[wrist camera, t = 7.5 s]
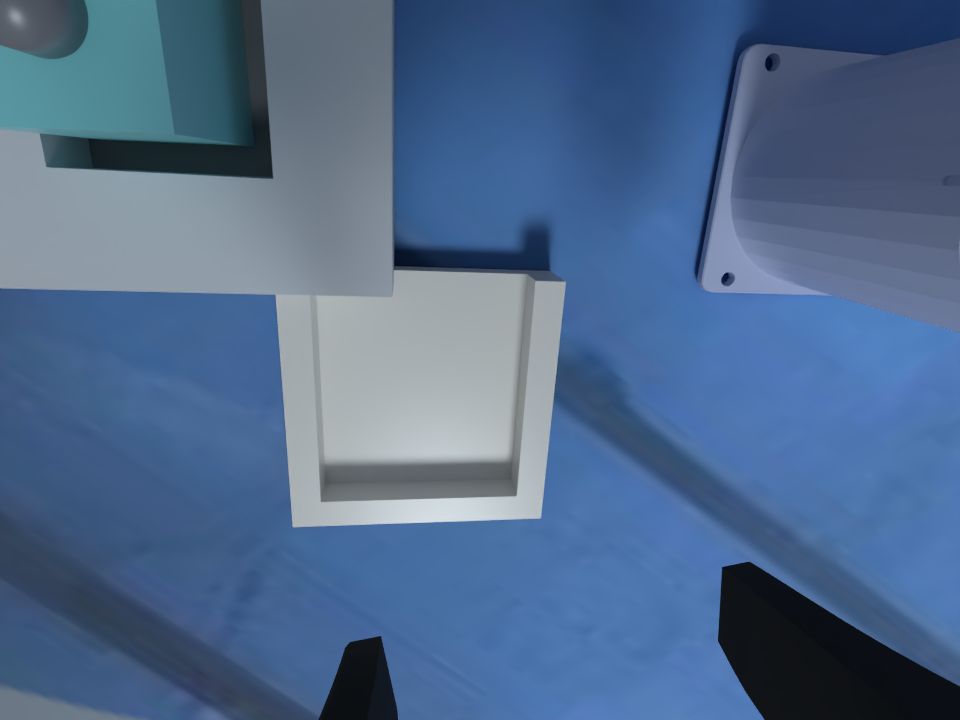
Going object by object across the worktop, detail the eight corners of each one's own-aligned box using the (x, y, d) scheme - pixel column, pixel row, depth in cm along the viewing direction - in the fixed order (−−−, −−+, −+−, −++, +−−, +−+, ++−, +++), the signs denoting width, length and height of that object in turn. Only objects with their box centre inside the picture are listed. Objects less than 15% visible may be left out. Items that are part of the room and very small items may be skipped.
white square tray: (550, 270, 19) (566, 281, 17) (529, 489, 22) (540, 518, 20) (288, 262, 18) (274, 273, 16) (303, 495, 21) (292, 526, 19)
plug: (240, -8, 15) (102, -156, 8) (254, 146, 16) (146, 129, 9) (83, -20, 14) (-202, -190, 8) (111, 140, 16) (-111, 117, 9)
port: (394, -157, 15) (391, -223, 12) (394, 280, 18) (392, 297, 16) (-111, -228, 13) (-231, -321, 10) (7, 270, 17) (-60, 287, 14)
